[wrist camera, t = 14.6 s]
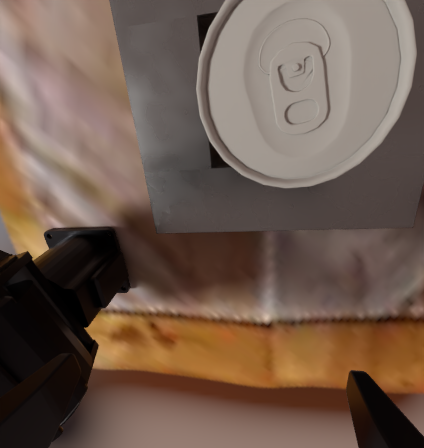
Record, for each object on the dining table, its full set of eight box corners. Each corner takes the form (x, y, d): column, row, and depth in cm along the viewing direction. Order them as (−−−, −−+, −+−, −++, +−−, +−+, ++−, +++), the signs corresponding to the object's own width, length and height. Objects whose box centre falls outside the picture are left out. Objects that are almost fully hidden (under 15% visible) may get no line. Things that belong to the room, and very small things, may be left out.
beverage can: (303, 38, 15) (433, -121, 4) (313, 125, 17) (421, 170, 6) (221, 65, 16) (160, -5, 5) (239, 144, 18) (219, 210, 7)
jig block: (173, 210, 21) (156, 233, 17) (131, -42, 15) (91, -88, 11) (381, 202, 18) (412, 227, 15) (436, -105, 12) (515, -192, 8)
